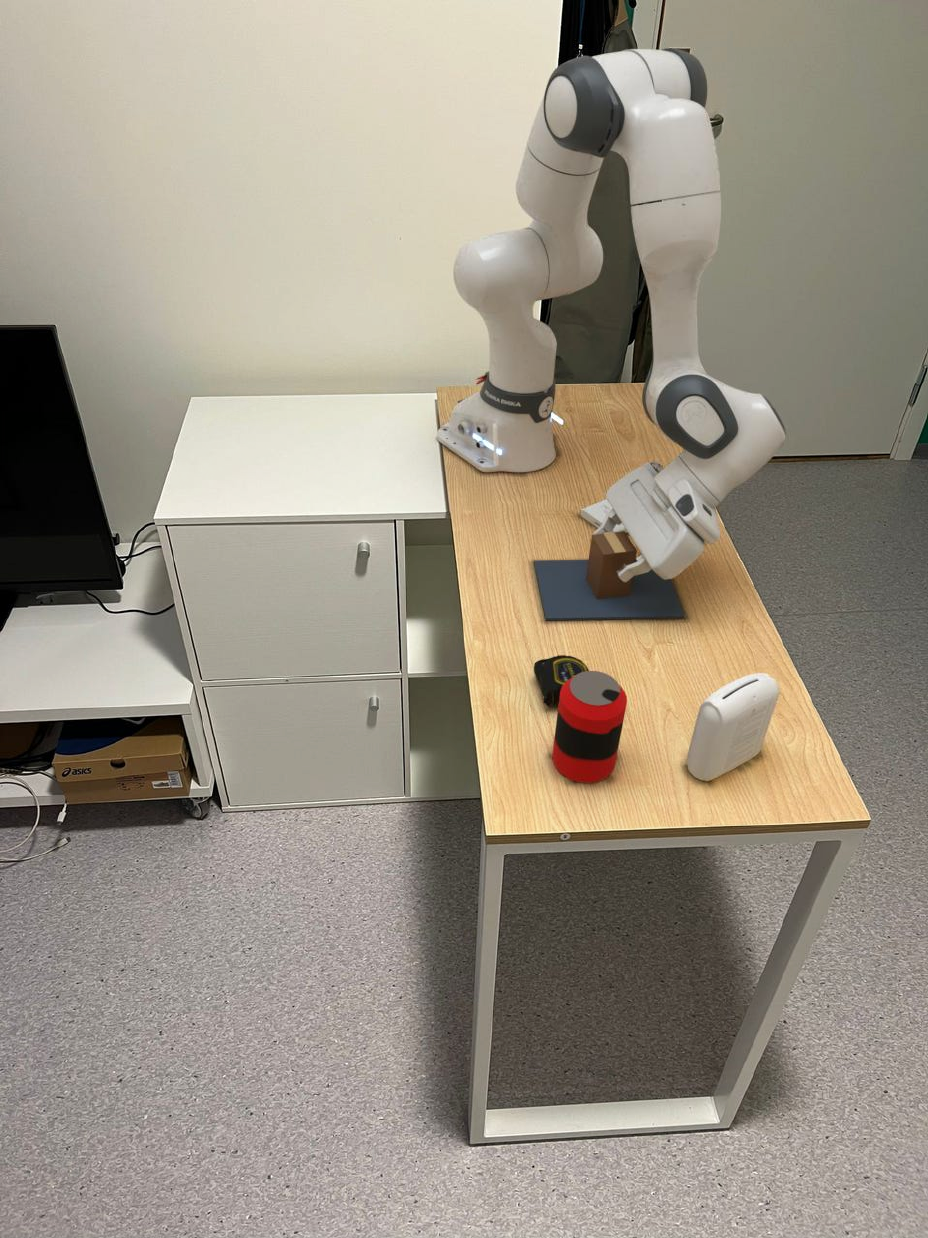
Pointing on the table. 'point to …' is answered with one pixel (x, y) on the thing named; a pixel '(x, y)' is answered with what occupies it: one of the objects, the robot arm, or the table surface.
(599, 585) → the box
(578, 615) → the desk mat
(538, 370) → the robot arm
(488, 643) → the table surface
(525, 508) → the table surface
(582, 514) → the hard drive
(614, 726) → the soda can
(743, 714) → the photo printer
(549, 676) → the tape measure
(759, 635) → the table surface
